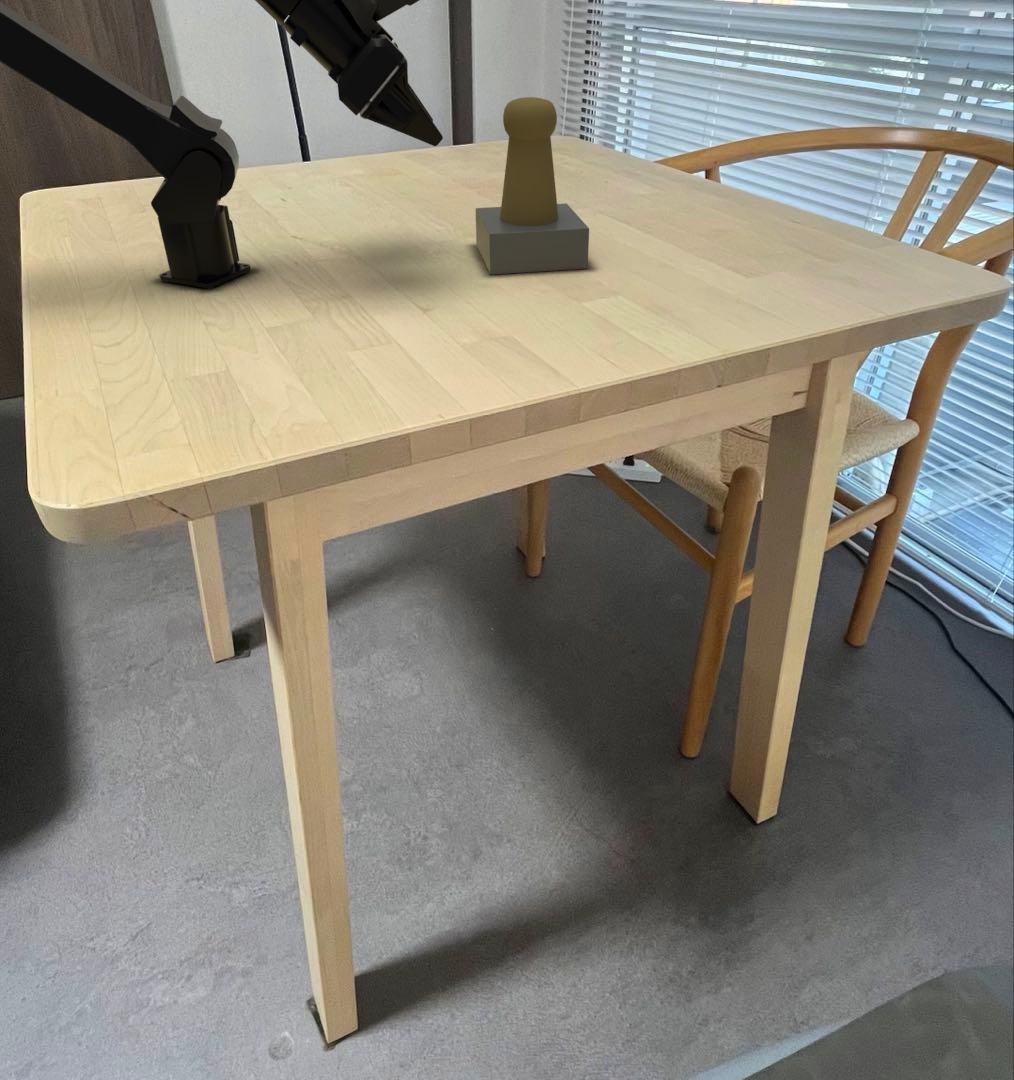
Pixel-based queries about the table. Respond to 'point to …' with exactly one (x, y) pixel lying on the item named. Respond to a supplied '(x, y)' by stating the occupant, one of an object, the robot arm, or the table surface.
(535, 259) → the grey block
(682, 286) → the table surface
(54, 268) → the table surface
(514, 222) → the olive brown pawn
